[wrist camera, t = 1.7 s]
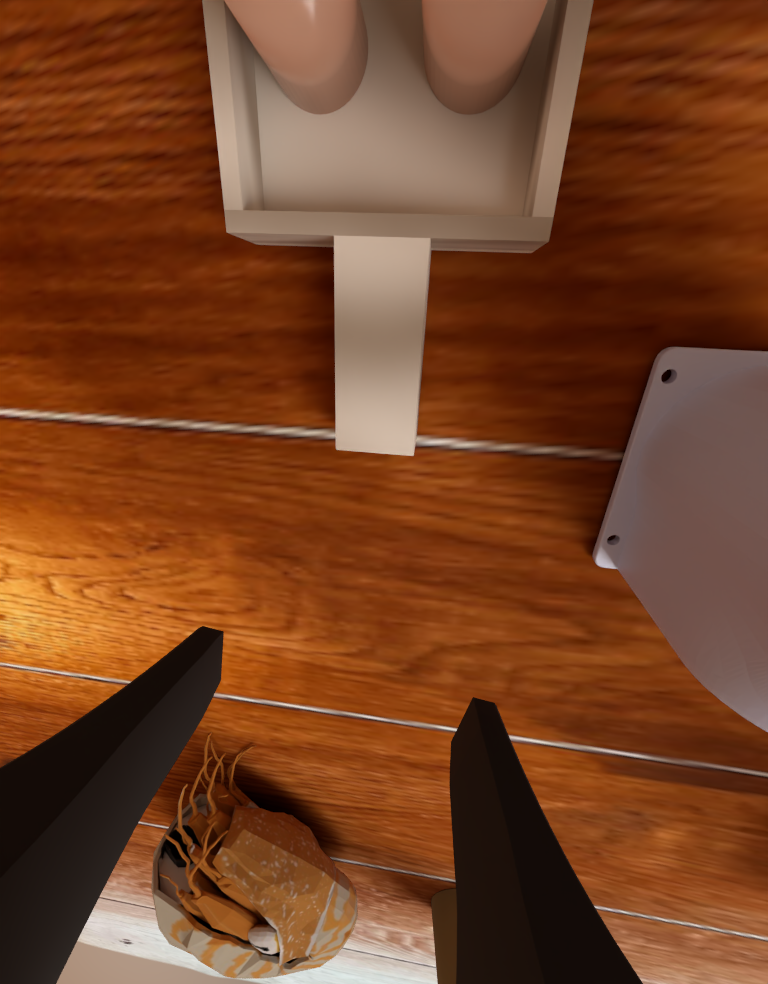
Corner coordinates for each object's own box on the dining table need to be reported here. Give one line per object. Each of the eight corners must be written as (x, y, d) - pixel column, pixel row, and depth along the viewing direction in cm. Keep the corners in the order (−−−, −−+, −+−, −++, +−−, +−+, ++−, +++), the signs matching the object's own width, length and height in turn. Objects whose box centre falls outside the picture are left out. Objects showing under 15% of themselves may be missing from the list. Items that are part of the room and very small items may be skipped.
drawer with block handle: (498, 444, 17) (507, 463, 14) (271, 427, 18) (248, 442, 15) (611, -220, 10) (662, -377, 7) (223, -190, 11) (167, -322, 8)
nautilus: (147, 699, 28) (354, 709, 27) (203, 873, 36) (366, 886, 35) (53, 827, 21) (332, 847, 20) (149, 1010, 29) (353, 1032, 27)
